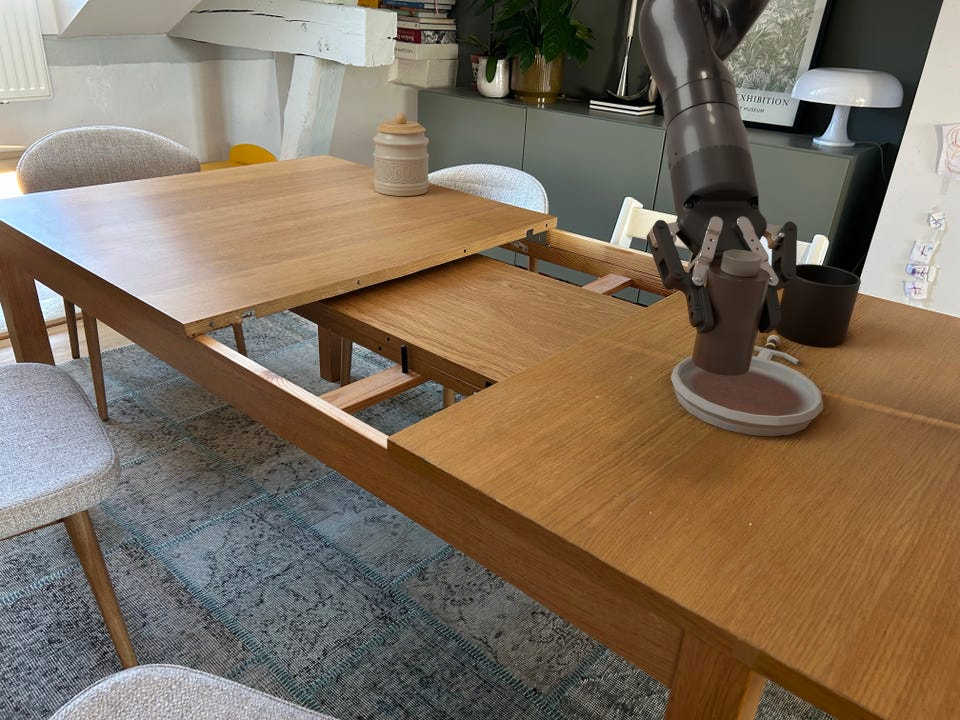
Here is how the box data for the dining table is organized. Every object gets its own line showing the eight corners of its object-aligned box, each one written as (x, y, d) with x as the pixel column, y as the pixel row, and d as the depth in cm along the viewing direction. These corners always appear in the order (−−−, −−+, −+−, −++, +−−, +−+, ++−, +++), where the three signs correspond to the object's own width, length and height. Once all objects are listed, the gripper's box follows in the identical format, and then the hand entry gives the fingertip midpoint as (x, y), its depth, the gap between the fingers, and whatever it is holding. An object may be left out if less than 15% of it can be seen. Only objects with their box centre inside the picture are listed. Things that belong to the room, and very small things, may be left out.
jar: (430, 185, 180) (431, 110, 173) (427, 198, 169) (428, 118, 161) (376, 183, 180) (375, 107, 172) (370, 195, 168) (369, 115, 160)
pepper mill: (754, 359, 69) (778, 252, 65) (744, 381, 65) (769, 268, 60) (699, 346, 71) (718, 242, 67) (685, 366, 67) (705, 257, 63)
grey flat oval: (843, 344, 97) (814, 433, 75) (838, 364, 98) (807, 457, 76) (714, 315, 104) (652, 387, 82) (710, 334, 106) (649, 410, 83)
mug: (759, 313, 112) (772, 256, 108) (844, 329, 108) (860, 270, 104) (752, 335, 104) (766, 275, 100) (844, 353, 100) (861, 291, 96)
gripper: (649, 140, 66) (674, 314, 60) (800, 143, 67) (837, 314, 62) (625, 185, 73) (645, 345, 68) (763, 187, 75) (793, 344, 69)
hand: (737, 329), depth 65 cm, fingers closed on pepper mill, 5 cm apart
